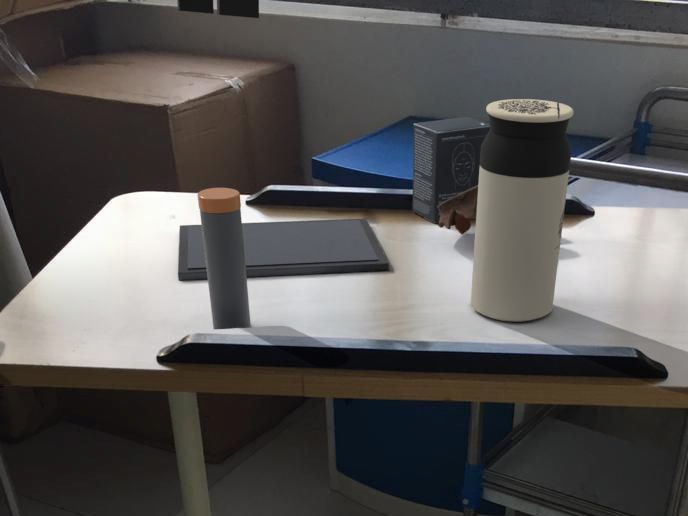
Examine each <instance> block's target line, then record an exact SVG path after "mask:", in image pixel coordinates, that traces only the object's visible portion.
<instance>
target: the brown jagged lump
mask: <svg viewBox="0 0 688 516" xmlns="http://www.w3.org/2000/svg"><path fill="white" fill-rule="evenodd" d="M477 199H478V185H477V186H475V187H472V188H470V189H468V190H466V191H464V192H462V193H460V194H458V195H456V196H454V197H452V198H449V199H448V200H446V201H444V202H442V203H440V205H438V206H437V208H438V210H439V212H440V214H441V216H440V220H439V223H438V228H444V227H445V228H447V229H448V230H450V229H451V227H453V226H454V228H455V230H457V232H458V233H459V234H460V235H461V236H462V235H464V234H465V233H467V232H468V231H469V230H470V229H471V227H472V222H471V220H476V212H475V211H476V208H477Z"/></svg>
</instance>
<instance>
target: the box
mask: <svg viewBox="0 0 688 516" xmlns="http://www.w3.org/2000/svg"><path fill="white" fill-rule="evenodd" d="M489 130H490V123H489V122H488V123H487V122H484V121H481V120H479V119H476V118H473V117H470V116H469V117H468V116H463V117H455V118H447V119H439V120H429V121H422V122H414V123H413V158H412V159H413V160H412V171H413V172H412V212H413V211H414V212H416V213H418V214H419V215H421V216H423V217H424V218H423V217H422V218H423V219H425V220H427V221H429V222H430V223H433V224H439V220H440V216H441V214H440V212H439V210H438V208H437V206H438V205H440V203H442V202H444V201H446V200H448V199H449V198H452V197H454V196H456V195H458V194H460V193H462V192H464V191H466V190H468V189H470V188H472V187H475V186H477V185H478V184H479V169H480V153H481V145H482V143H483V141H484V139H485V138H486V136H487V134H488V132H489ZM414 212H413V213H414ZM475 212H476V214H477V208H476V211H475ZM419 215H418V216H419ZM421 216H420V217H421Z"/></svg>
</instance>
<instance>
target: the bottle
mask: <svg viewBox="0 0 688 516" xmlns="http://www.w3.org/2000/svg"><path fill="white" fill-rule="evenodd" d="M197 203H198V209H199V215H200V223H201V224H200V225H202V233H203V242H204V250H205V259H206V268H207V276H208V279H207V284H208V285H207V286H208V292H209V302H210V310H211V319H212V327H213V328H212V329H213V330H230V329H247V328H248V329H249V328H252V323H251V313H250V299H249V288H248V279H247V278H248V277H246V266H245V254H244V243H243V232H242V223H243V222H242V210H241V207H242V203H241V194H240V192H239V190H237V189H234V188H229V187H211V188H205V189H202V190H200V191H198V192H197Z"/></svg>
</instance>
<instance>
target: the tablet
mask: <svg viewBox="0 0 688 516" xmlns="http://www.w3.org/2000/svg"><path fill="white" fill-rule="evenodd" d="M242 232H243V243H244V254H245V266H246V277H247V278H256V277H278V276H280V277H281V276H299V275H315V274H316V275H317V274H318V275H320V274H342V273H361V272H362V273H363V272H380V271H381V272H382V271H383V272H384V271H390V262H389V260H388V258H387V256H386V255H385V252H384V251H383V248H382V246H381V245H380V243H379V241H378V239H377V237H376V235H375V233H374V231H373V228H372V227H371V225H370V224H369V221H368V219H367V218H365V217H364V218H342V219H316V220H311V219H310V220H290V221H289V220H288V221H285V220H284V221H263V222H262V221H261V222H259V221H258V222H242ZM178 233H179V234H178V254H177V255H178V257H177V263H178V264H177V278H178V281H192V280H193V281H194V280H195V281H197V280H208V276H207V268H206V259H205V250H204V242H203V233H202V224H182V225H179V232H178Z"/></svg>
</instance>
